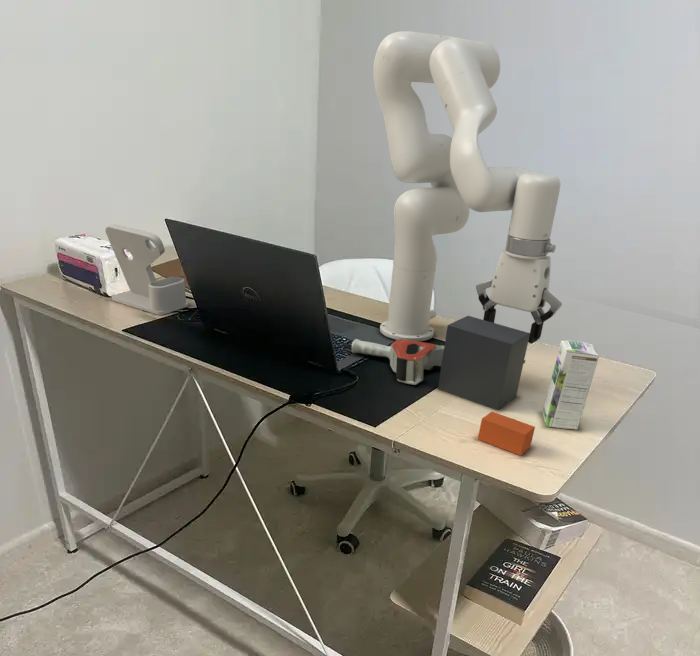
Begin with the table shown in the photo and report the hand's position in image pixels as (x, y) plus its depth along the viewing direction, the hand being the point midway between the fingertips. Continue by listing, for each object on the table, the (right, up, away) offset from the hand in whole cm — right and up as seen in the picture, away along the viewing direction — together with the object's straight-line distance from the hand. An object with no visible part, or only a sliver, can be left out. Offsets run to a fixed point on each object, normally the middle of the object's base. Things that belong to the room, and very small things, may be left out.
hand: (510, 335), depth 130 cm
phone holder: (-80, +14, +30) cm, 87 cm away
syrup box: (+7, -18, -10) cm, 22 cm away
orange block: (-6, -22, -19) cm, 29 cm away
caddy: (-9, -8, -8) cm, 14 cm away
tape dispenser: (-21, -5, +7) cm, 23 cm away
